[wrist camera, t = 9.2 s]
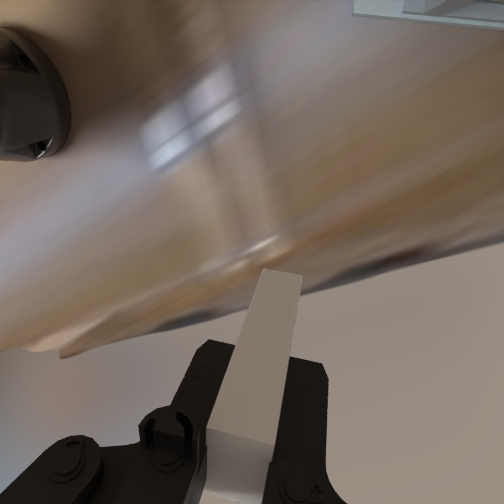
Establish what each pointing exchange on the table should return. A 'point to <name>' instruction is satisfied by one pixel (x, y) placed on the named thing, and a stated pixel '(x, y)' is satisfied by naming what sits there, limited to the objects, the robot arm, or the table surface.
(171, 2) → the table surface
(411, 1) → the tunnel deck
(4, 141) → the robot arm
